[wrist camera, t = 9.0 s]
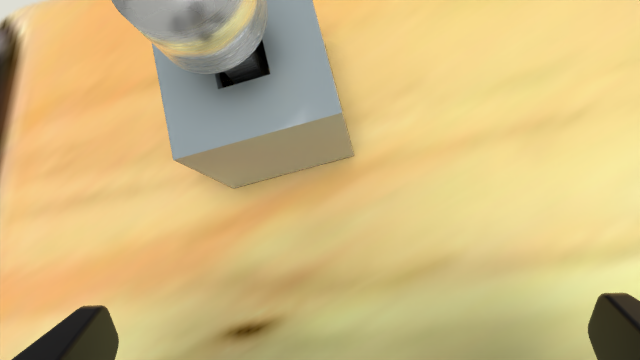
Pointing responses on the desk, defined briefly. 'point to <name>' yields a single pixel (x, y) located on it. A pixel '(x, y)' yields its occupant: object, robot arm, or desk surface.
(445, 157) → the desk surface
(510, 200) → the desk surface
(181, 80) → the gray square socket cube
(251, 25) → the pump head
